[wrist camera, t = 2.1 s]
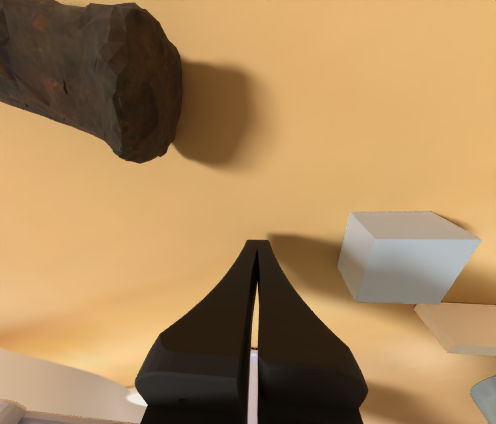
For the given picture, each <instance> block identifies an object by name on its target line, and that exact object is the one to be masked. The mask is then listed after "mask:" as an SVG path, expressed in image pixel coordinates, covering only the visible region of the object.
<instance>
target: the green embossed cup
mask: <svg viewBox="0 0 496 424" xmlns="http://www.w3.org/2000/svg"><path fill="white" fill-rule="evenodd" d="M470 395H471V397H472V399H473V401H474V402H475V404H476V405H477V406H478V408H479V409H480V411H481V412H482V414H483V415H484V417H485V418H486V420H487V421H488V423H489V424H496V376H494V377H491V378H488V379H485V380H483V381H481V382H479V383H478V384H476V385H475V386H473V388H472V389H471V393H470Z"/></svg>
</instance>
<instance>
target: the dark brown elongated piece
mask: <svg viewBox="0 0 496 424" xmlns="http://www.w3.org/2000/svg"><path fill="white" fill-rule="evenodd" d="M181 101H182V68H181V61H180V55H179V53H178V50H177V48H176V47H175V46H174V45H173V44H172V43H171V42H170V41H169V40H168V38H167V37H166V35H165V33H164V31H163V29H162V27H161V25H160V23H159V22H158V21H157V20H156V19H155V18H154V17H153V16H152V15H151V14H150V13H149V12H148V11H147V10H146V9H142V8H140V7H139V6H138V5H137V4H135V3H123V4H116V5H103V4H94V3H90V4H89V5H87V6H86V7H78V6H70V5H63V4H60V3H59V2H57V1H55V0H0V102H3V103H6V104H8V105H11V106H14V107H17V108H20V109H23V110H26V111H29V112H32V113H35V114H39V115H42V116H44V117H47V118H49V119H52V120H54V121H57V122H60V123H63V124H66V125H69V126H72V127H74V128H77V129H79V130H81V131H84V132H87V133H89V134H92V135H94V136H96V137H98V138H100V139H102V140H104V141H105V142H106V143H107V144H108V145H109V146H110V147H111V148H112V150H113V152H114V153H115V154H116V155H118V157H119V158H122V159H124V160H126V161H133V162H136V163H139V164H140V163H144V162H147V161H150V160H152V159H154V158H156V157H157V156H159V157H161V156H163V155H164V154H165V153H166V152H167V149H168V146H169V145H170V143H171V142H172V141H173V140H174V137H175V129H176V124H177V120H178V117H179V114H180V110H181Z"/></svg>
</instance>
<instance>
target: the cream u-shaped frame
mask: <svg viewBox="0 0 496 424" xmlns="http://www.w3.org/2000/svg"><path fill="white" fill-rule="evenodd" d="M414 311H415V312H416V313H417V315H418V316H419V317H420V318H421V320H422V321H423V322H424V323H425V325H426V326H427V327H428V329H429V330H430V331H431V332H432V334H433V335H434V336H435V337H436V339H437V340H438V341H439V343H440V344H441V345H442V346H443V348H444V349H445V350H446V351H447V353H457V354H471V355H484V356H496V305H484V304H464V303H444V302H440V304H439V305H429V304H417V305H416V306H415V308H414Z"/></svg>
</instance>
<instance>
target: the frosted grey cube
mask: <svg viewBox="0 0 496 424" xmlns="http://www.w3.org/2000/svg"><path fill="white" fill-rule="evenodd" d="M481 241H482V239H480V238H479V237H477V236H475V235H473V234H471V233H470V232H468V231H466V230H464V229H462V228H460V227H459V226H457V225H455V224H453V223H451V222H449V221H448V220H446V219H444V218H442V217H440V216H439V215H437V214H435V213H433V212H431V211H394V212H350V214H349V219H348V223H347V227H346V231H345V236H344V240H343V244H342V248H341V253H340V257H339V261H338V265H337V268H338V270H339V272H340V274H341V276H342V278H343V280H344V282H345V284H346V286H347V288H348V290H349V292H350V294H351V296H352V298H353V300H354V302H371V303H400V304H429V305H439V304H440V302H441V301H442V299H443V298H444V296H445V295H446V293H447V292H448V290H449V289H450V287H451V286H452V284H453V283H454V281H455V280H456V278H457V277H458V275H459V274H460V272H461V271H462V269H463V268H464V266H465V265H466V263H467V262H468V260H469V259H470V257H471V256H472V254H473V253H474V251H475V250H476V248H477V247H478V245H479V244H480V242H481Z"/></svg>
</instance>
